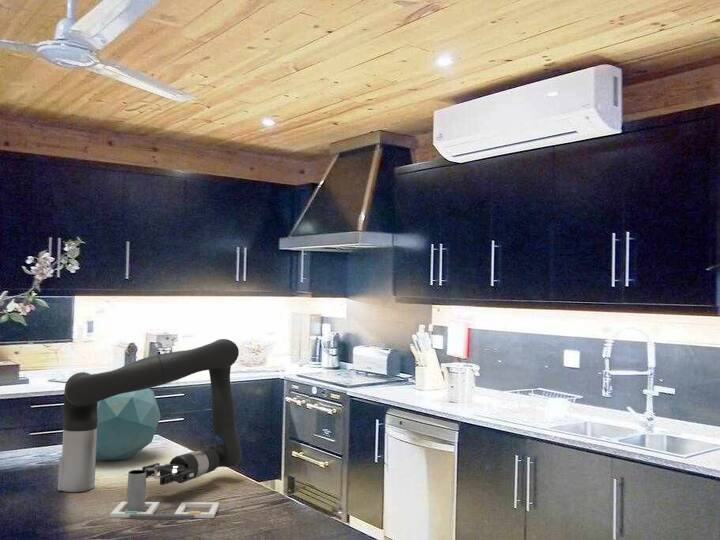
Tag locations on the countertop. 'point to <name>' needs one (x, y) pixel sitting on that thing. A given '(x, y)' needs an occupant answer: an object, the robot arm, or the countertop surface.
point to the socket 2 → (198, 514)
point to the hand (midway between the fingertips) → (148, 478)
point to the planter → (136, 490)
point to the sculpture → (126, 424)
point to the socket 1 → (119, 514)
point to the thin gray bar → (161, 517)
